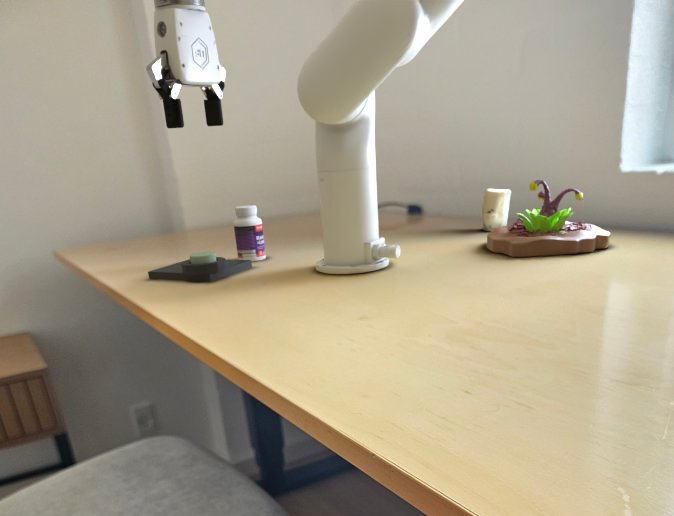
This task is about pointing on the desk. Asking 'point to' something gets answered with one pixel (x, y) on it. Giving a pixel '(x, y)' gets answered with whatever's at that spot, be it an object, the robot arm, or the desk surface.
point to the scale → (200, 270)
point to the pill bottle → (249, 234)
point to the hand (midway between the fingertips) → (196, 126)
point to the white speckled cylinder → (495, 208)
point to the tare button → (203, 257)
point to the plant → (547, 231)
